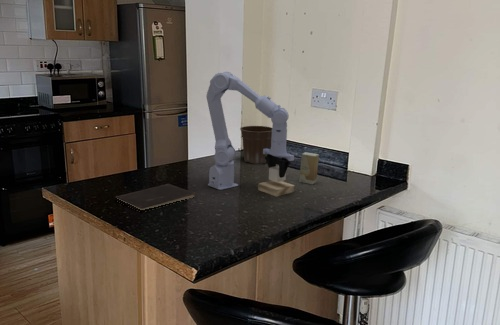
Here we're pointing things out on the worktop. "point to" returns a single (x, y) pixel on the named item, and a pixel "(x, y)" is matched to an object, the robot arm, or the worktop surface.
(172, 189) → the hardcover book
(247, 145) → the plant pot
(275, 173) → the cream cube
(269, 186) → the oak plinth
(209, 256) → the worktop surface
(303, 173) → the skincare box
